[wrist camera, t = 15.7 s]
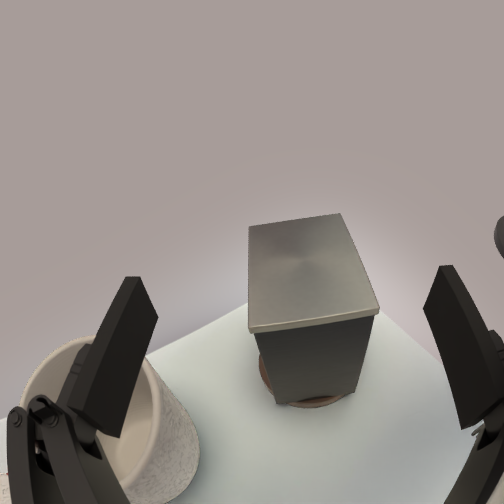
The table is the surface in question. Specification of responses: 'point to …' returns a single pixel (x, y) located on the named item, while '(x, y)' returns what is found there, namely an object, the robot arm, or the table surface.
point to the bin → (309, 306)
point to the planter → (134, 430)
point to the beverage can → (4, 489)
